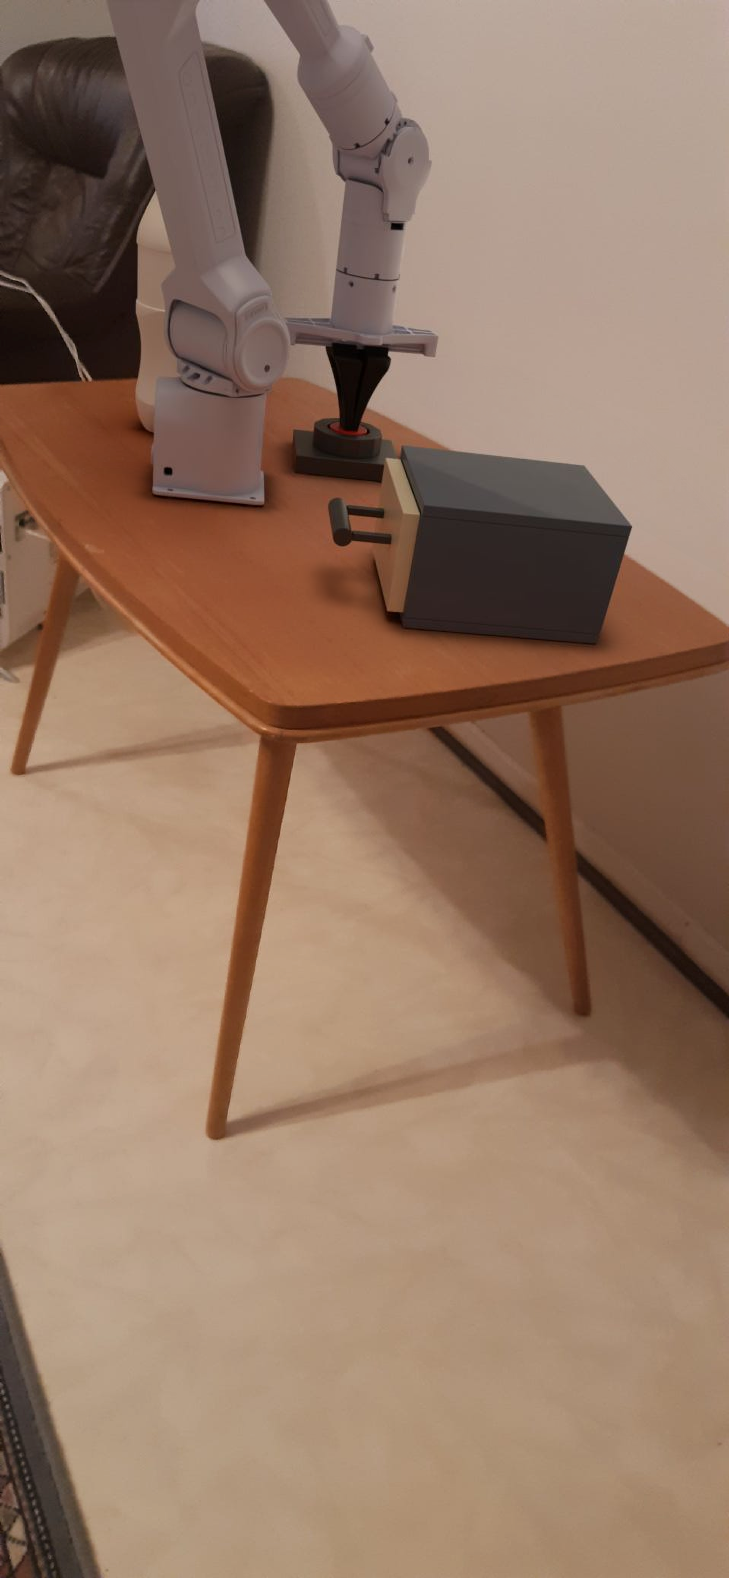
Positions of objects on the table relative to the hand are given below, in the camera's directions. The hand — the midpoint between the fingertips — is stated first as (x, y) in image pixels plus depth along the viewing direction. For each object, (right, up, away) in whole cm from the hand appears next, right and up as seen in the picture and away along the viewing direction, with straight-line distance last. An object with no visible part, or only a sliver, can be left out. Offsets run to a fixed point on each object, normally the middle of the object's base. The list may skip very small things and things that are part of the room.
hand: (348, 428), depth 99 cm
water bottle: (-18, +1, +4) cm, 18 cm away
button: (0, -1, +1) cm, 2 cm away
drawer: (+7, -19, -21) cm, 29 cm away
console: (0, -3, +2) cm, 3 cm away
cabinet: (+11, -20, -20) cm, 30 cm away
